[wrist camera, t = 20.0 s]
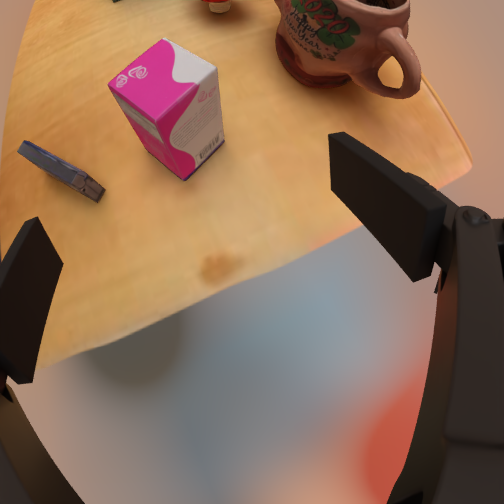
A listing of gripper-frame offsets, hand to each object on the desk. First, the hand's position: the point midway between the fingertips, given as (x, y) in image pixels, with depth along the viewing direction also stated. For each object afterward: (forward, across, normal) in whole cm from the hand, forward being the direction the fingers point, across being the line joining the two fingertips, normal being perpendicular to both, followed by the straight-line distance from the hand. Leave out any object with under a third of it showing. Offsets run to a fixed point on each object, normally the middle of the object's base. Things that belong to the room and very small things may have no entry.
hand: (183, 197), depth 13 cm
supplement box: (+19, 0, -4) cm, 19 cm away
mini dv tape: (+19, -12, -4) cm, 23 cm away
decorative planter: (+23, +18, +1) cm, 29 cm away
